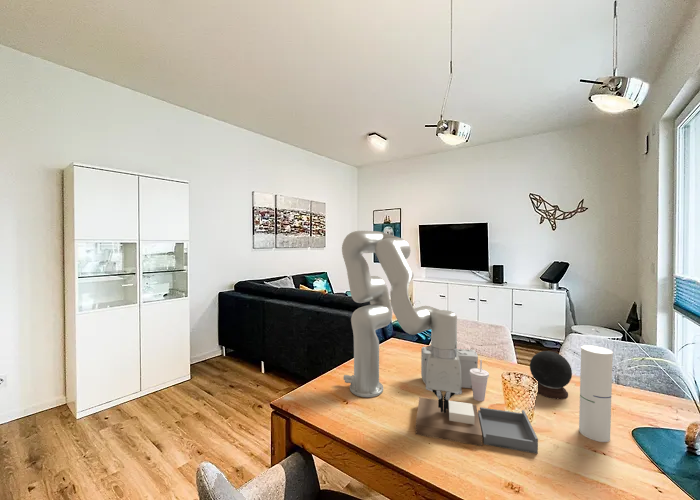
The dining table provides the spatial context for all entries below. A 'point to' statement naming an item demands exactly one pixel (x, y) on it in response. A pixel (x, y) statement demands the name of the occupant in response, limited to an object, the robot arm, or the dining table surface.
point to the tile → (461, 412)
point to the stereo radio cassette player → (466, 361)
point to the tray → (507, 430)
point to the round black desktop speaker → (551, 374)
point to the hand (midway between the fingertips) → (443, 410)
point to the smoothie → (479, 382)
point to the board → (445, 424)
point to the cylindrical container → (595, 392)
